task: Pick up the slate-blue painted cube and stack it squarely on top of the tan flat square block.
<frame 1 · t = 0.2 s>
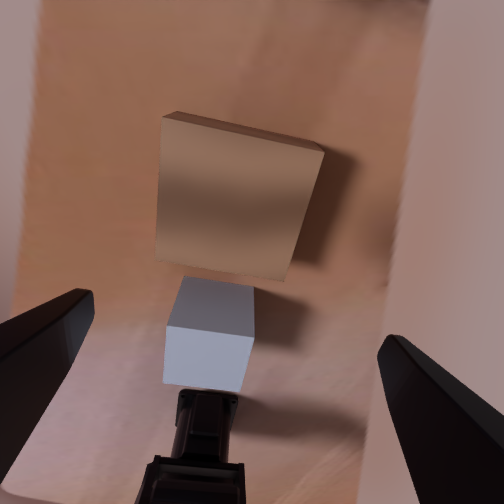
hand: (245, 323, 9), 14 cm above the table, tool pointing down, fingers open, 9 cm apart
tan flat square block: (234, 190, 22), on the table
slate cube: (214, 307, 27), on the table
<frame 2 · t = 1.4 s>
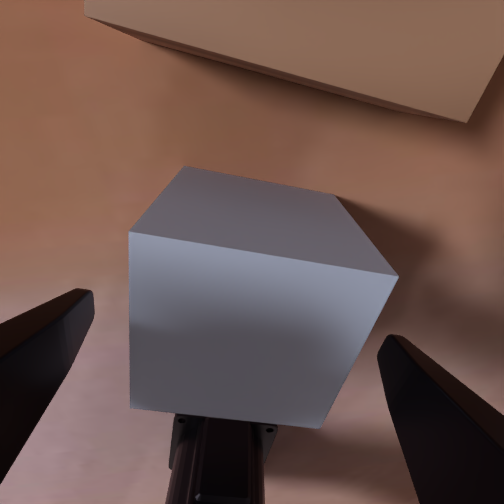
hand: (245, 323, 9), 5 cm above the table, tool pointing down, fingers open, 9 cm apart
slate cube: (246, 246, 13), on the table
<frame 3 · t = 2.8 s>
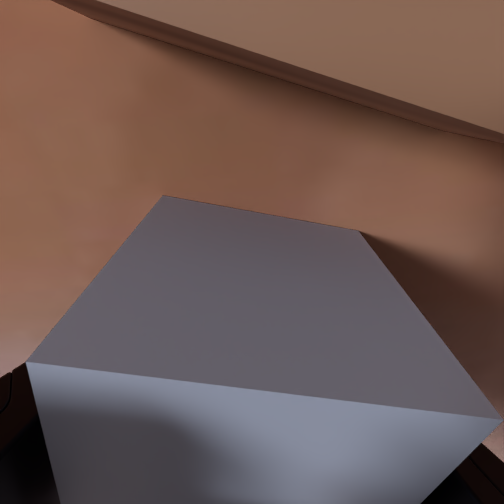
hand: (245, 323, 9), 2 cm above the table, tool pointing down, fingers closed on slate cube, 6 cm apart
slate cube: (245, 293, 10), on the table, touching gripper
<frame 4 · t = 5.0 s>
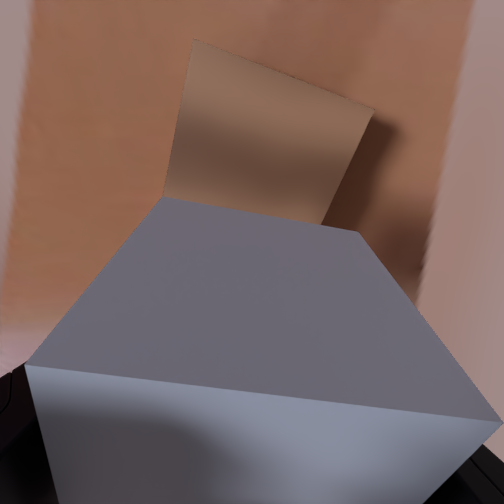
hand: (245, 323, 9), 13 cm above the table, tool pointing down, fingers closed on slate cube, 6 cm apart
tan flat square block: (255, 156, 19), on the table
slate cube: (245, 294, 10), point 11 cm above the table, touching gripper
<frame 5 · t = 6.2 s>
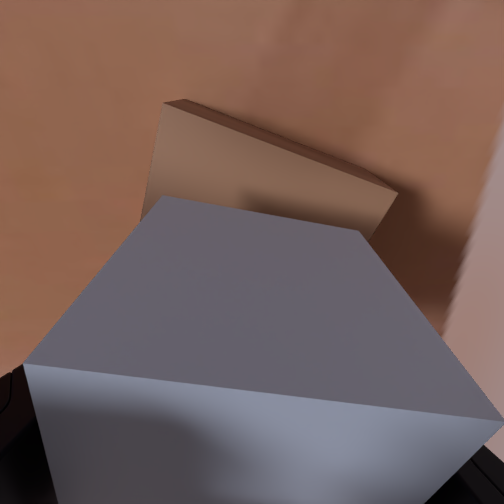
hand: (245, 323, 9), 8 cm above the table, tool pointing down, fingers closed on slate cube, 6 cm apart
tan flat square block: (247, 218, 16), on the table
slate cube: (245, 293, 10), point 6 cm above the table, touching gripper
when the fingers open (7 cm above the table, at t = 7.3 s): slate cube drops 2 cm, resting on tan flat square block.
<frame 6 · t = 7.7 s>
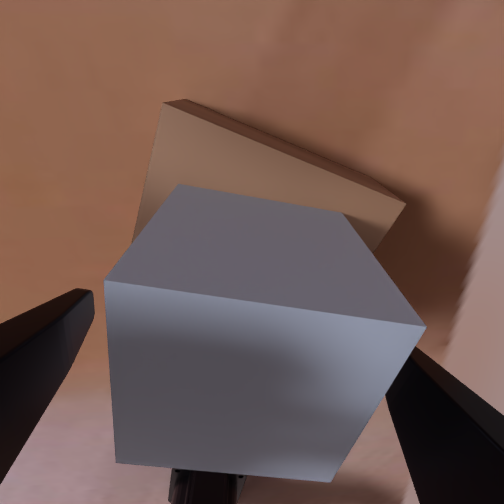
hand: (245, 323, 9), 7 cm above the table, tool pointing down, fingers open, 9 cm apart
tan flat square block: (247, 224, 15), on the table, touching slate cube
slate cube: (247, 268, 12), point 4 cm above the table, touching tan flat square block
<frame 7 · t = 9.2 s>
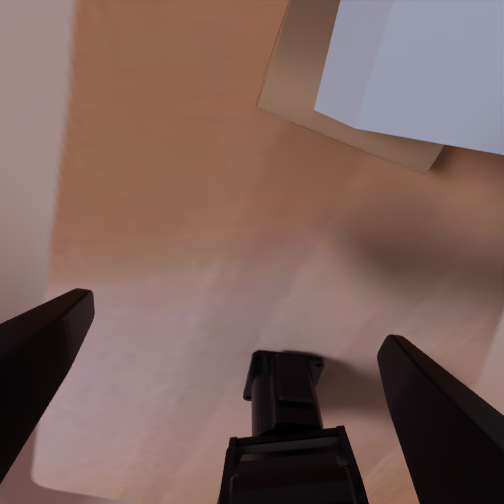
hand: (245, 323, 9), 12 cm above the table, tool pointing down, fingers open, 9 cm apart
tan flat square block: (366, 43, 15), on the table, touching slate cube
slate cube: (404, 42, 12), point 4 cm above the table, touching tan flat square block
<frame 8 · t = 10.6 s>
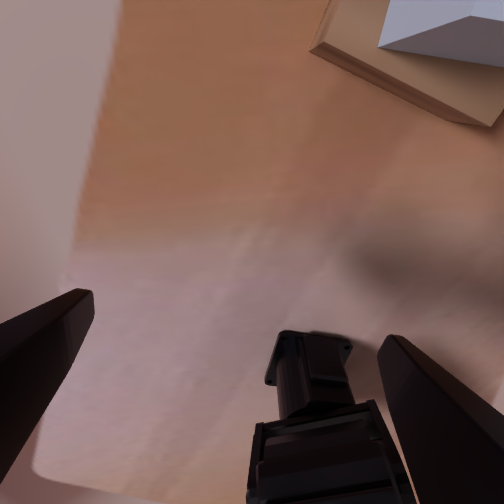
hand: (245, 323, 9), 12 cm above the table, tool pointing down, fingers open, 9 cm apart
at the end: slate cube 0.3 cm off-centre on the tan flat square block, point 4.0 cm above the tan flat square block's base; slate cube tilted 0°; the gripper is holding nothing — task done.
